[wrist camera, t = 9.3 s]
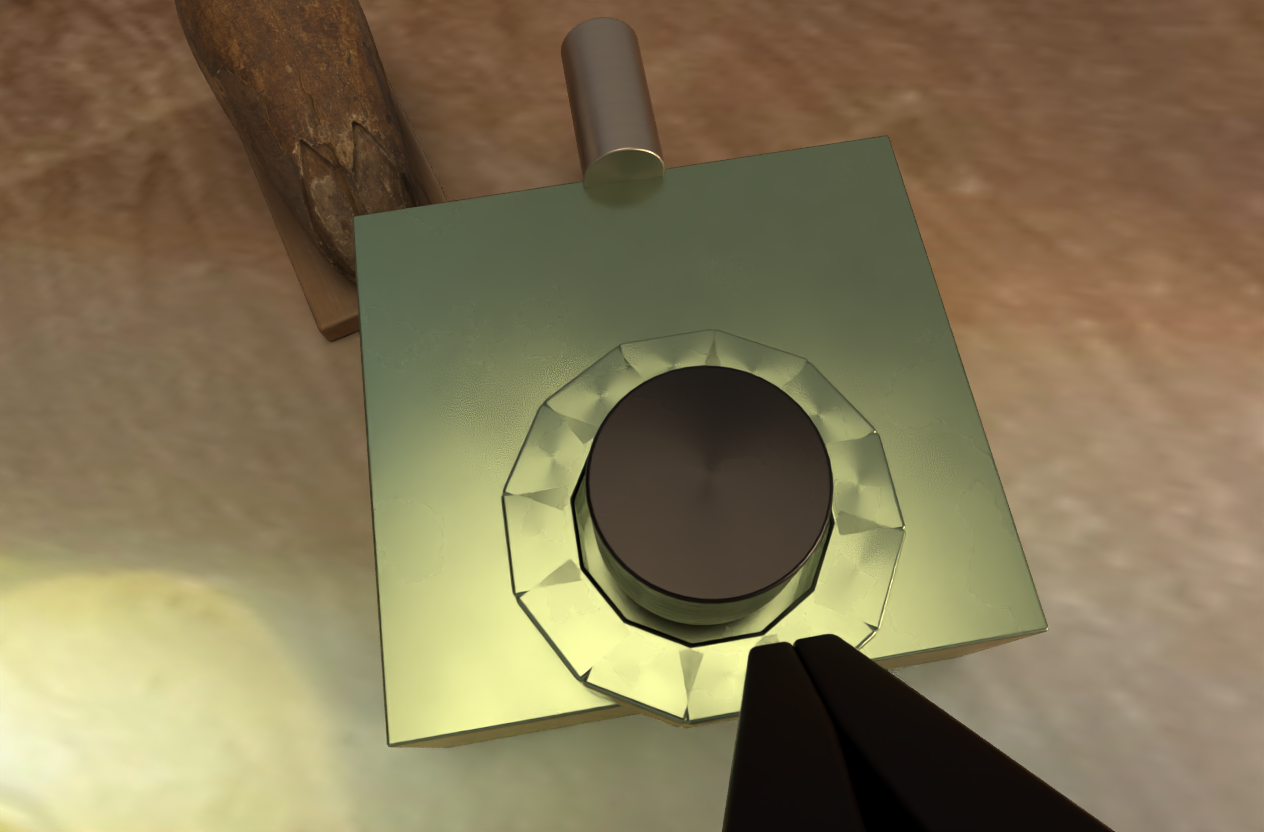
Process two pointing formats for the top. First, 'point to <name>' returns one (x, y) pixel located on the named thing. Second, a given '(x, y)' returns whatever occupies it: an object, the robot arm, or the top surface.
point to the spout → (610, 103)
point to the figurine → (312, 130)
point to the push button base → (603, 374)
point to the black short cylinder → (707, 493)
